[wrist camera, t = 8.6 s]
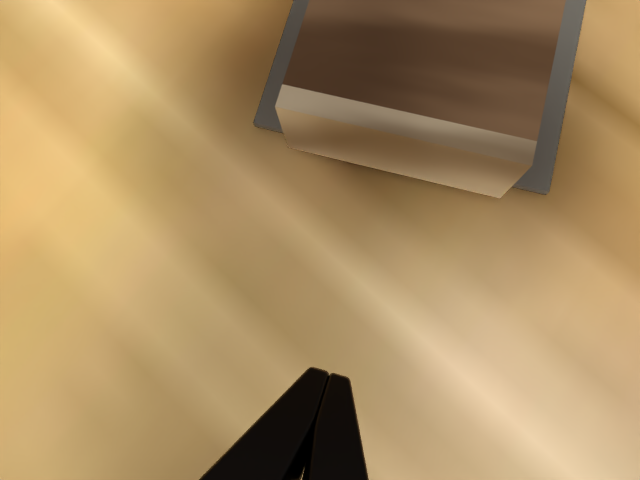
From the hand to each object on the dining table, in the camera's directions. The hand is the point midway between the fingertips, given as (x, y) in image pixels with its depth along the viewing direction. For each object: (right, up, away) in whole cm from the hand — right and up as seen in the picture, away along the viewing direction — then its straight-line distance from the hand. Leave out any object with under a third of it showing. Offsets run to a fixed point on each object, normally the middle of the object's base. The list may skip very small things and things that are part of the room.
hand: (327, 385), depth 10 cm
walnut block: (+3, +7, +11) cm, 13 cm away
